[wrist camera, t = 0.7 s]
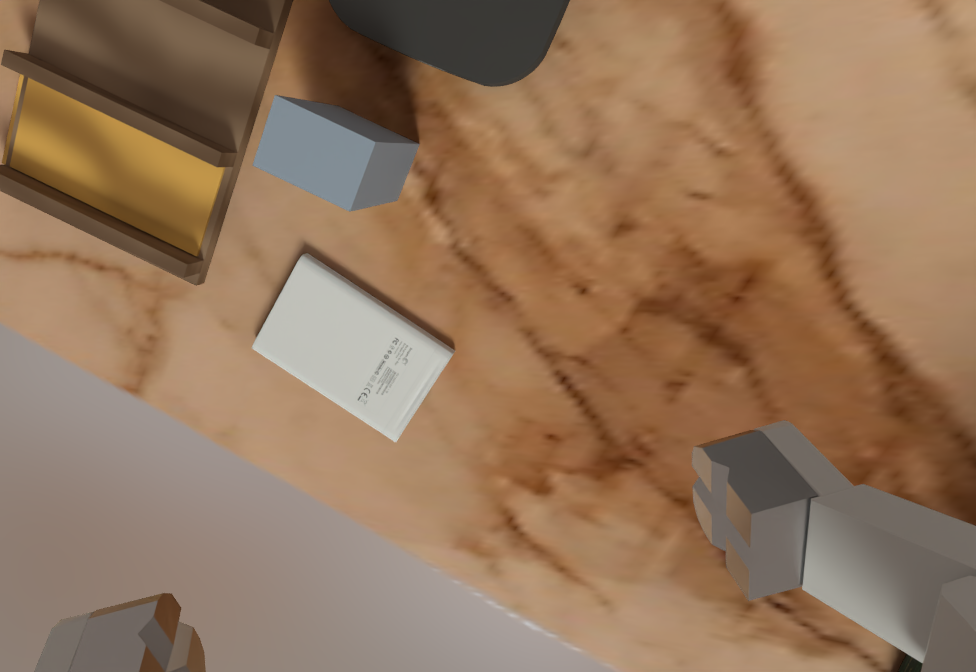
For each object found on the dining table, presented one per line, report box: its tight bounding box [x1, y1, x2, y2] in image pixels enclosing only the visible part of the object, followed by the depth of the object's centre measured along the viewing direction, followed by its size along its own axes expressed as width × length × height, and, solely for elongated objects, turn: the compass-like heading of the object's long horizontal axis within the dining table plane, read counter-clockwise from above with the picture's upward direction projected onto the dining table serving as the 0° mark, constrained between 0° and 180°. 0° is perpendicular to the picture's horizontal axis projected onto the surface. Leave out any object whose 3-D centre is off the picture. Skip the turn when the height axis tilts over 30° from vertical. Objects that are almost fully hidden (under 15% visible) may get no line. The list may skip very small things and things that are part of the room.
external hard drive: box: [252, 253, 455, 442], centre depth 50 cm, size 2×8×12 cm
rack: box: [0, 0, 293, 286], centre depth 43 cm, size 27×16×7 cm, turn 156°
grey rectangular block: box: [253, 95, 419, 211], centre depth 42 cm, size 4×6×9 cm, turn 66°
